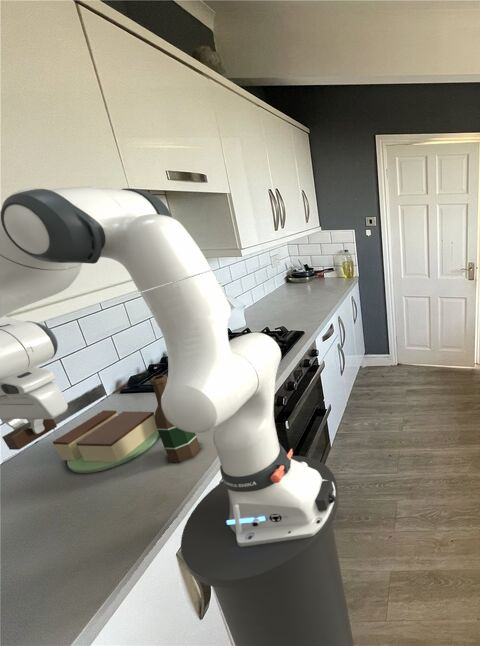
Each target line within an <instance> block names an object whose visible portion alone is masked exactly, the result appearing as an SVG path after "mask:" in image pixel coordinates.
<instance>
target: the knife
mask: <svg viewBox="0 0 480 646" xmlns="http://www.w3.org/2000/svg"><path fill="white" fill-rule="evenodd" d="M105 396H107V391H106V390H105V387H104V384H103V383H99V384H98V385H96V386H94V387H93V388H91V389H89V390H87V391H85V392H84V393H81V394H80V395H78V396H77V397H75V398H73V399H71V400H69V401H67V405H68V408H67V410H66V412H64V413H63V414H61V415H59V416H57V417H56V418H54V419H43V423H42V424H43V426H44V428H45V429H44V431H42V432H40V433H38V434H34V433H30V431H29V429H28V428H29V427H31V422H28V421H27V422H25V423H26V424H25V425H23V426H21V427H19V428H17V429H16V430H14V429H13V430H12V431H10V432H8V433H7V434H5V435H3V436H2V437H1V438H2V440H3V442H4V443H5V444H6V446H7V448H8V449H9V450H11V451H12V450H13V451H19V450H21V449H23V448H25V447H26V446H28V445H29V444H31V443H33V442H35V441H36V440H38V439H39V438H41V437H43V436H44V435H46V434H48V433H49V432H51V431H52V430H54V429H56V428H58V425H59V424H60V423H62V422H63V421H65V420H67V419H68V418H71V417H72V416H74V415H76V414H77V413H79V412H80V411H82V410H83V409H85V408H87V407H89V406H90V405H92V404H93V403H95V402H96V401H98V400H100V399H102V398H103V397H105Z"/></svg>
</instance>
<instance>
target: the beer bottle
mask: <svg viewBox="0 0 480 646" xmlns="http://www.w3.org/2000/svg"><path fill="white" fill-rule="evenodd" d="M167 379H168V375H166V374H159V375H155V376H153V377H151V378H150V380H149V381H150V385H152V387H153V391H154V395H155V399H156V403H157V407H156V409H155V411H154V415H155V423H156V426H157V430H158V432H159V437H160V440H161V443H162V445H163V448H164V451H165V453H166V456H167V458H168V460H169V462H175V463H181V462H184V461H186V460H188V459H191V458H193V457H194V456H195V455H196V454H197V453H199V451H201V446H200V443H199V439H198V437H197V433H191V432H186V431H183V430H180V429H178V428H176V427H175V426H173V425H172V424H171V423H170V422H169V421H168V420H167V418H166V417H165V415H164V413H163V411H162V407H161V397H162V394H163V392H164V390H165V387H166V383H167Z"/></svg>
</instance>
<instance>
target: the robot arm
mask: <svg viewBox="0 0 480 646" xmlns="http://www.w3.org/2000/svg"><path fill="white" fill-rule="evenodd" d="M100 258H105V259H111V260H114V261H116V262H118V263H119V264H120V265H122V266H123V267H124V269H125V270H126V271H127V272H128V274H129V276H130V278H131V280H132V282H133V284H134V285H135V287H136V289H137V290H138V292H139V294H140V296H141V298H142V299H143V301H144V302H145V304H146V306H147V307H148V310H149V311H150V313H151V315H152V316H153V318H154V320H155V322H156V324H157V326H158V328H159V329H160V332H161V334H162V337H163V340H164V343H165V348H166V353H167V363H168V365H167V366H168V367H167V368H168V369H167V371H168V372H167V377H168V379H167V383H166V387H165V390H164V392H163V394H162V397H161V407H162V411H163V413H164V415H165V417H166V418H167V420H168V421H169V422H170V423H171V424H172V425H173V426H175V427H176V428H178V429H180V430H183V431H186V432H191V433H196V434H203V433H206V432H209V431H211V430H213V436H212V437H213V444H214V448H215V450H216V453H217V456H218V461H219V463H220V466H219V471H220V475H221V480H222V481H223V482H224V485H225V487H226V488H227V489H228V494H229V502H230V515H229V520H227V525H230V527H231V529H232V530H233V531H234V532H235V533H236V538H237V544H238V546H240V547H244V546H251V545H258V544H265V543H272V542H279V541H286V540H293V539H300V538H307V537H312V536H313V535H315V534H316V533H317V532H318V531H319V530H320V529H321V528H322V526H323V525H324V523H325V522H326V520H327V518H328V517H329V515H330V512H331V510H332V507H333V504H334V501H335V495H336V490H335V486H334V483H333V482H332V481H328V480H323V479H322V477H321V475H320V474H319V472H318V471H317V470H315V469H313V468H310V467H308V465H307V464H306V463H305V462H297V461H295V460H293V459H291V456H293V454H294V451H293V448H290V450H289V451H288V453H287V451H286V450H285V448H284V447H283V445H281V443H280V442H279V438H278V434H277V428H276V422H275V411H274V410H275V392H276V379H277V373H278V369H279V366H280V363H281V360H282V351H281V348H280V346H279V344H278V343H277V342H276V340H275V339H274V338H272V336H270V335H268V334H265V333H263V332H249V333H246V334H243V335H240V336H237V337H234V338H232V339H231V340H229V323H230V319H231V317H232V306H231V304H230V302H229V301H228V298H227V297H226V295H225V293H224V290H223V289H222V287H221V285H220V282H219V281H218V279H217V277H216V274H215V273H214V271H213V270H212V267H211V265H210V263H209V262H208V260H207V258H206V257H205V255H204V254H203V252H202V250H201V249H200V247H199V246H198V243H196V241H195V240H194V238H193V237H192V236H191V235H190V233H189V232H188V231H187V229H186V227H184V225H183V224H182V223H181V222H180V221H179V220H177V219H175V218H174V217H172V214H171V212H170V210H169V208H168V206H166V204H165V202H163V201H162V200H161V199H160V198H159V197H157V196H156V195H154V194H153V193H151V192H148V191H144V190H141V189H135V188H128V187H127V188H121V189H120V188H111V187H109V188H108V187H107V188H106V187H93V186H72V187H61V188H53V189H47V188H33V187H31V188H23V189H20V190H17V191H14V192H13V193H12V194H10V195H9V196H7V198H6V199H5V200H4V201H3V203H2V206H1V209H0V420H2V421H3V423H5V424H6V425H7V426H8V427H11V428H12V430H13V431H14V430H16V429H17V428H19V427H21V426H23V425H25V424H26V423H28V422H31V427H29V428H28V429H29V431H30V433H34V434H38V433H40V432H42V431H44V429H45V428H44V426H43V424H42V423H43V419H54V418H56V417H57V416H59V415H61V414H63V413H64V412H66V410H67V408H68V405H67V403H68V401H67V399H66V397H65V395H64V393H63V391H62V390H61V388H60V386H59V385H58V384H57V383H56V382H53V381H55V380H56V375H55V373H54V372H52V371H51V370H47V369H44V368H41V367H38V366H39V365H42V364H44V363H46V362H49V361H50V360H52V359H53V358H55V356H56V354H57V353H58V347H59V346H58V339H57V337H56V335H55V334H54V332H53V331H52V329H51V328H49V327H48V326H46V325H44V324H42V323H39V322H35V321H31V320H25V321H24V320H19V319H16V318H12V317H8V316H7V315H9V314H11V313H13V312H15V311H17V310H19V309H22V308H24V307H27V306H29V305H31V304H35V303H37V302H39V301H43V300H45V299H48V298H50V297H53V296H56V295H58V294H60V293H62V292H64V291H65V290H67V289H68V288H69V287H71V285H72V284H73V283H74V282H75V281H76V279H77V278H78V277H79V275H80V273H81V270H82V267H83V264H92V265H93V264H97V263H98V261H100ZM23 420H26V421H27V422H24V421H23ZM319 522H320V523H319ZM317 523H318V524H317ZM250 538H251V539H250Z"/></svg>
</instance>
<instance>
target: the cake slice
mask: <svg viewBox="0 0 480 646" xmlns="http://www.w3.org/2000/svg"><path fill="white" fill-rule="evenodd" d="M117 415H119V414H118V411H117V410H102V411H100V412H98V413H97V414H95V415H93V416H92V417H90V418H89V419H87V420H86V421H84V422H82V423H81V424H79V425H77V426H76V427H74V428H72V429H71V430H69V431H68V432H66V433H65V434H63V435H61V436H59V437H58V438H57V439H55V440H54V441H52V444H53V446H54V448H55V449H56V451H57V454H58V455H59V457H60V459H61V460H62V461H67V460H77V459H79V458H80V457H81V456H82V455H81V453H80V451H79V449H78V446H77V444H76V443H77V442H79V441H80V440H82V439H83V438H85V437H86V436H88V435H89V434H91V433H92V432H94V431H95V430H97V429H98V428H100V427H101V426H102V425H104V424H105V423H107V422H108V421H110V420H111V419H113V418H114V417H116V416H117Z"/></svg>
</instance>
